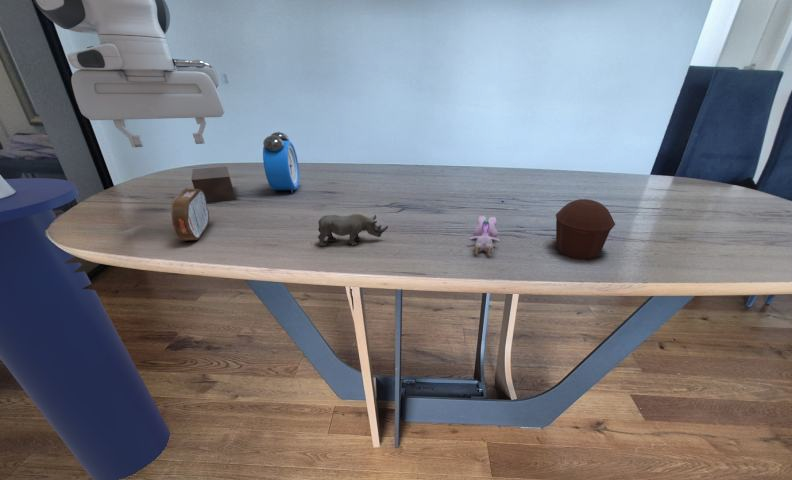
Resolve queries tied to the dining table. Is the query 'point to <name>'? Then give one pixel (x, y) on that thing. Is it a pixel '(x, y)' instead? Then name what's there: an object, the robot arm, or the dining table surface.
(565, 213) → the muffin
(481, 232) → the rabbit figure
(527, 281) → the dining table surface
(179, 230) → the tin
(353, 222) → the rhino figurine
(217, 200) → the walnut block
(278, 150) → the alarm clock
